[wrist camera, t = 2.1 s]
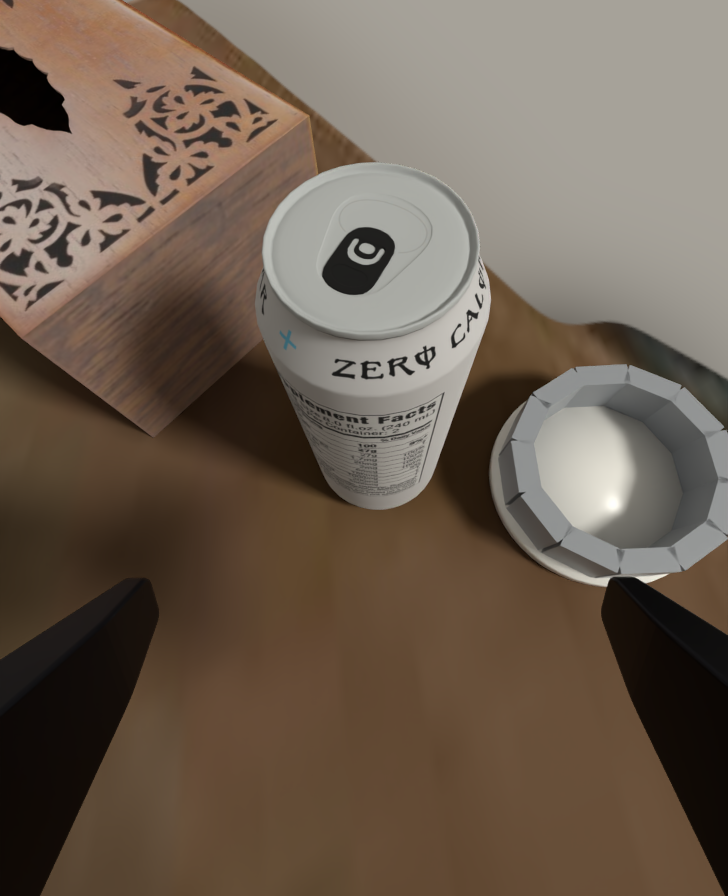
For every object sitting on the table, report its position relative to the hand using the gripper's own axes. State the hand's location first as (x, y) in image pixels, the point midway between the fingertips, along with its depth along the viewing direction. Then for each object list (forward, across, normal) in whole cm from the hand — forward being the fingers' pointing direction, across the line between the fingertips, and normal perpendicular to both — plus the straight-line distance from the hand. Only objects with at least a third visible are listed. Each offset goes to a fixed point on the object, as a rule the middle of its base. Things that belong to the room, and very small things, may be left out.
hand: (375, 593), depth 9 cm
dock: (+14, -11, +5) cm, 18 cm away
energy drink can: (+15, 0, +4) cm, 16 cm away
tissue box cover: (+26, +17, -6) cm, 32 cm away
